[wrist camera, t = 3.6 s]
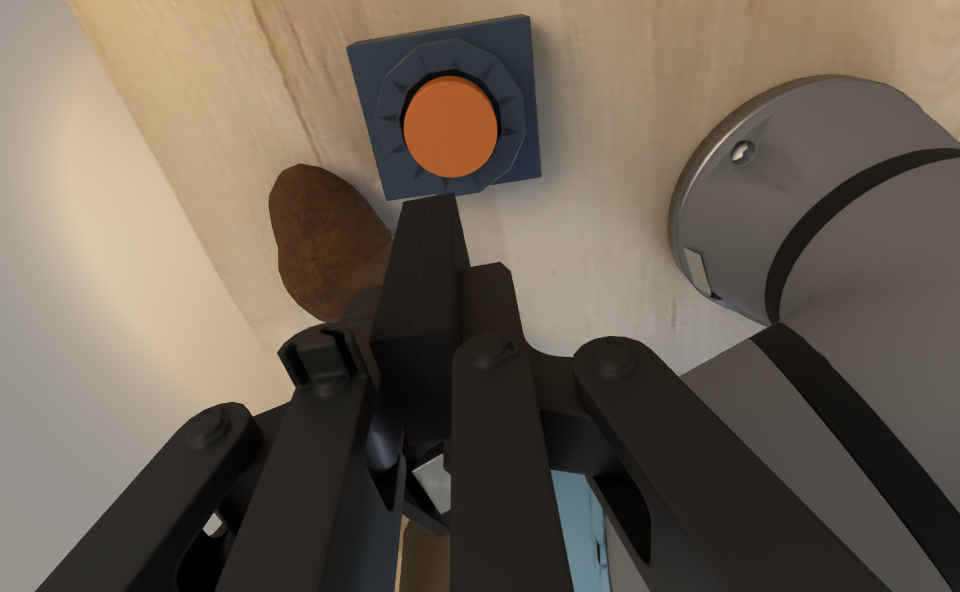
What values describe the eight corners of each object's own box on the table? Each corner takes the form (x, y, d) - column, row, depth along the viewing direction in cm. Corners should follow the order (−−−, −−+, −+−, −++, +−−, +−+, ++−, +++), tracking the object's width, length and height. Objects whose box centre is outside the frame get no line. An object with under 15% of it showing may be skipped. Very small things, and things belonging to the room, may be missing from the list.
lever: (623, 610, 26) (625, 648, 24) (521, 649, 28) (513, 688, 26) (489, 413, 26) (478, 433, 24) (396, 467, 28) (378, 490, 26)
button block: (523, 13, 25) (535, 17, 21) (535, 163, 29) (547, 188, 25) (355, 41, 25) (337, 50, 21) (391, 185, 30) (382, 213, 26)
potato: (357, 134, 28) (330, 172, 22) (428, 277, 33) (422, 339, 27) (253, 176, 29) (201, 223, 23) (338, 308, 34) (314, 373, 28)
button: (488, 68, 22) (491, 74, 21) (500, 159, 25) (502, 170, 23) (397, 83, 23) (393, 89, 21) (417, 172, 25) (414, 184, 24)
